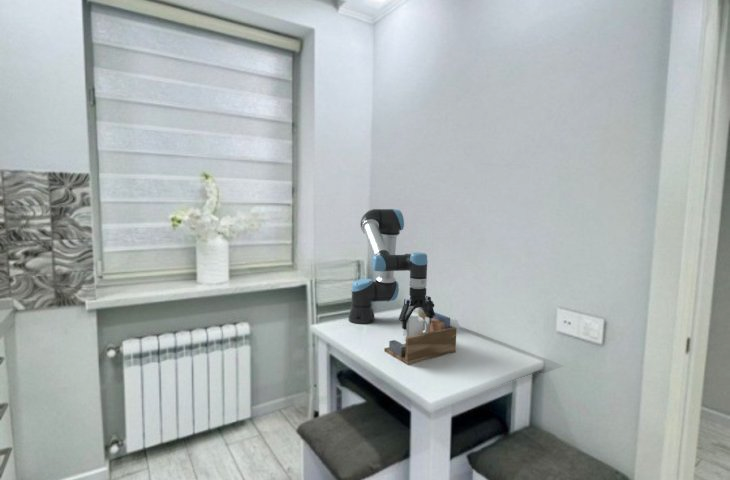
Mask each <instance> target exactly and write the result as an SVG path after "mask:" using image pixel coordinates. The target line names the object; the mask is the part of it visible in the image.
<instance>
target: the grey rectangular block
mask: <svg viewBox="0 0 730 480" xmlns="http://www.w3.org/2000/svg"><path fill="white" fill-rule="evenodd" d="M403 344H404V343H401V342H399V341H397V340H395V339H394V340H389V342H388V347H389V350H390V351H392V352H394V353H396V354H398V355H399V356H401V357H402V356H405V354H406V346H405V345H403Z"/></svg>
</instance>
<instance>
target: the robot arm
mask: <svg viewBox="0 0 730 480" xmlns="http://www.w3.org/2000/svg"><path fill="white" fill-rule="evenodd" d="M404 227H405V220H404V216H403V213H402V211H401V210H400V209H394V208H383V209H382V208H381V209H380V208H372V209H369V210H368V211H367V212H365V213H364V214H363V216H362V217H361V219H360V228H361V231H362V233H363V234H365V237H366V239H367V242H368V244H369V246H370V249H371V253H372V254H373V256H372V258H371V267H372V270H374V271H375V272H378V275H377V276H376V277H375V281H373V279H371V278H361V279H356V280H355V281H353V282H352V284H351V308H350V311H349V314H348V319H347V320H348V321H349V322H350V323H353V324H359V325H365V324H366V325H367V324H370V323H373V322H375V318H376V317H375V313H374V310H373V303H375V302H376V303H377V302H378V303H379V302H392V301H393V302H394V301H395V300H396V299H397V298H398V296H399V292H400V291H399V290H400V288H399V282H398V281H397V279H396V277H394V273H395V272H400V271H401V272H404V271H409V299H407V298H404V300H403V305H402V307H401V311H400V313H399V316H398V321H400V322H401V323H402V325H401V328H402V331H403V332H402V334H403V337H404V336H406V337H408V327H409V322H407V321H408V319H409V318H410V316H412V315H413V313H414V311H415V310H416V309H418V307H421V308H422V309H423V311H424V313H425V314H426V316H427V317H425V320H426V321H427V325H428V328H427V332H430V324H431V318H433V316H435V313H436V312H435V311H434V307H433V306H432V303H431V301H432V297H431V296H429V295H427V288H426V287H427V281H428V277H427V276H428V262H429V261H428V255H427V253H425V252H411V253H404V254H396V249H397V248H396V246H397V237H398V236H399V235H400V232H402V231H403V230H404ZM425 301H426V304H427V307H426V305H425V303H424V302H425ZM427 308H428V309H427ZM434 312H435V313H434Z"/></svg>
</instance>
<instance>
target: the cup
mask: <svg viewBox="0 0 730 480" xmlns="http://www.w3.org/2000/svg"><path fill="white" fill-rule="evenodd" d="M407 322H409V327H408V337H410V336H414V335H419V334H424V333H426V332H427V328H428V325H427V321H426V320H423V318H421V317H418V315H417V316H416V315H411V316H410V318H409V319H408V321H407ZM423 322H425V330H423ZM403 337H404V341H405V342H406V336H404V335H403Z"/></svg>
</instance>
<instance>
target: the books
mask: <svg viewBox="0 0 730 480" xmlns="http://www.w3.org/2000/svg"><path fill="white" fill-rule="evenodd" d="M434 313H435V316H433V318H431V324H430V332H433V331H438V330H442V329H447V328H450V325H451V317H450V316H449V317H448V316H446V315H444V314H440V313H438V312H435V311H434ZM426 333H428V332H426Z"/></svg>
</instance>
